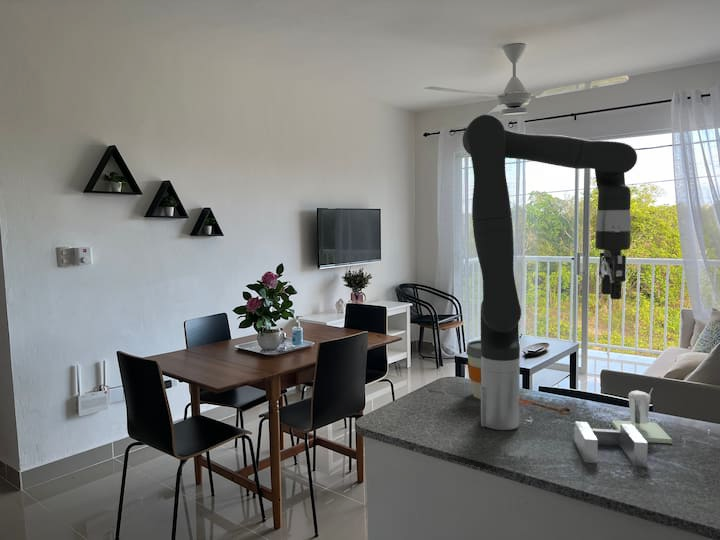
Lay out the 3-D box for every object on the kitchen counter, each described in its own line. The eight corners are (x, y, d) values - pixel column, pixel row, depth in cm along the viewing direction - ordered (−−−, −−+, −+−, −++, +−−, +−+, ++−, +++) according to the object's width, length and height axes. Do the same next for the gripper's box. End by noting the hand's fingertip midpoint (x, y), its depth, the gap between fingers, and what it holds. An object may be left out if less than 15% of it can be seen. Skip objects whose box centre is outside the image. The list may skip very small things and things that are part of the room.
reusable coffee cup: (498, 405, 144) (498, 352, 143) (458, 396, 152) (458, 345, 151) (517, 393, 154) (518, 343, 152) (479, 385, 162) (479, 338, 161)
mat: (623, 440, 120) (623, 436, 120) (611, 424, 130) (611, 420, 130) (671, 443, 118) (671, 439, 118) (655, 426, 128) (655, 422, 128)
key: (512, 405, 146) (563, 419, 135) (512, 402, 146) (562, 416, 135) (523, 399, 150) (574, 412, 139) (523, 395, 150) (574, 408, 139)
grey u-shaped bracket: (584, 462, 110) (584, 439, 109) (573, 440, 121) (573, 418, 120) (647, 466, 107) (647, 442, 107) (630, 443, 118) (630, 421, 118)
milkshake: (656, 432, 121) (658, 390, 121) (633, 433, 121) (635, 391, 121) (646, 425, 126) (647, 384, 125) (623, 425, 126) (625, 385, 125)
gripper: (589, 229, 133) (587, 292, 135) (603, 230, 119) (601, 300, 121) (621, 229, 132) (619, 293, 133) (639, 229, 118) (636, 301, 119)
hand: (610, 296), depth 127 cm, fingers open, 8 cm apart
